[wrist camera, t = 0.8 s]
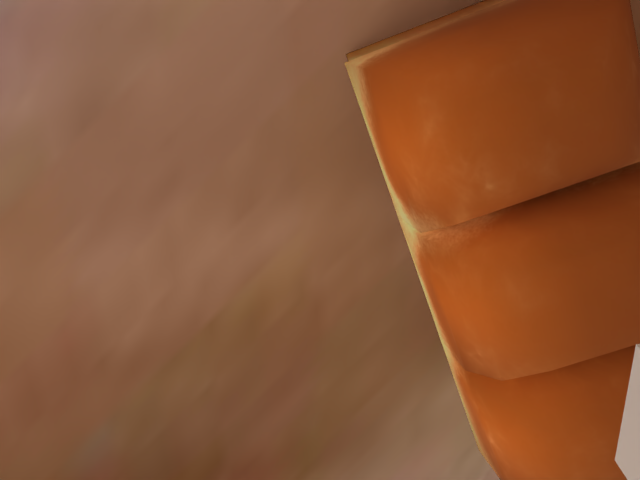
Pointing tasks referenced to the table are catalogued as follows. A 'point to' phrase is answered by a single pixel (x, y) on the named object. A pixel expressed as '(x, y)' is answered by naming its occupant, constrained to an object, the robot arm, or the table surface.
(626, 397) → the robot arm
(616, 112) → the bread
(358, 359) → the table surface
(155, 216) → the table surface
